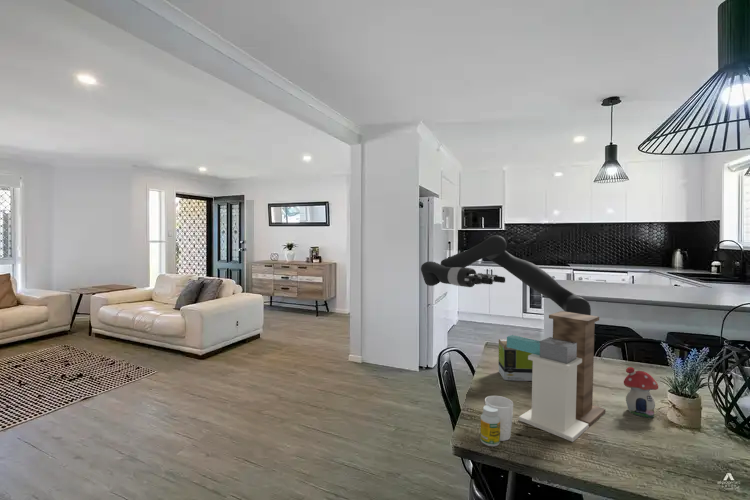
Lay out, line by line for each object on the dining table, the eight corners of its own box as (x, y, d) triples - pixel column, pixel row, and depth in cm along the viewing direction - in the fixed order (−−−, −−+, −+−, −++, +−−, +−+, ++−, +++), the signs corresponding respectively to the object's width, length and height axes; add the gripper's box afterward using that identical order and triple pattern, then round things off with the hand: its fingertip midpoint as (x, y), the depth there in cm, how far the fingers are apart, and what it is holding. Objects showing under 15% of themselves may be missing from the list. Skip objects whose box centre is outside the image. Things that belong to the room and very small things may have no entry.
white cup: (508, 428, 110) (509, 396, 110) (515, 443, 102) (516, 408, 102) (482, 427, 111) (482, 394, 111) (486, 441, 103) (487, 406, 103)
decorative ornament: (622, 412, 121) (623, 367, 121) (623, 405, 127) (624, 362, 126) (657, 421, 116) (659, 374, 115) (657, 413, 121) (658, 368, 121)
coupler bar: (576, 358, 111) (576, 342, 111) (566, 364, 107) (567, 347, 106) (514, 344, 126) (514, 329, 126) (503, 348, 122) (504, 333, 122)
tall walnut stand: (605, 412, 121) (608, 316, 120) (589, 426, 112) (592, 323, 111) (555, 396, 133) (558, 309, 132) (538, 408, 124) (540, 314, 123)
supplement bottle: (490, 434, 107) (491, 402, 107) (504, 444, 102) (504, 410, 102) (476, 439, 105) (476, 406, 104) (489, 448, 100) (490, 414, 99)
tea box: (533, 373, 156) (534, 339, 156) (542, 382, 146) (543, 346, 146) (497, 371, 158) (498, 337, 157) (503, 380, 148) (504, 344, 147)
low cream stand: (588, 427, 111) (590, 359, 111) (572, 441, 103) (574, 368, 103) (536, 408, 123) (538, 347, 123) (519, 420, 116) (520, 354, 115)
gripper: (451, 268, 142) (488, 271, 130) (472, 266, 151) (508, 269, 139) (450, 287, 142) (487, 292, 130) (472, 284, 151) (508, 289, 139)
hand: (498, 280), depth 134 cm, fingers open, 8 cm apart
